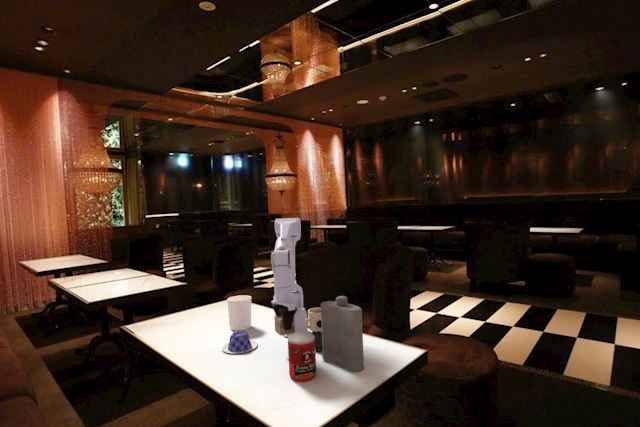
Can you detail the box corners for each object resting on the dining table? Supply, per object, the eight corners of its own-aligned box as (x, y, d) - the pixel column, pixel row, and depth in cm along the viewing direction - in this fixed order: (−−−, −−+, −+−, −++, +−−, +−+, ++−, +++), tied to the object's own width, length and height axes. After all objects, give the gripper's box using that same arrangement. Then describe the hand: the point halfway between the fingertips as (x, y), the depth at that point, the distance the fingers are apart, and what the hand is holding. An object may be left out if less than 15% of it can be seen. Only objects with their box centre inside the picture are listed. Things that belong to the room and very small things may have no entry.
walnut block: (289, 328, 122) (288, 313, 122) (294, 332, 118) (294, 317, 118) (275, 331, 120) (274, 316, 120) (280, 335, 115) (279, 319, 115)
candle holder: (240, 332, 141) (239, 302, 140) (223, 329, 146) (221, 299, 146) (257, 325, 149) (256, 296, 149) (240, 322, 154) (239, 294, 154)
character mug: (313, 356, 115) (311, 315, 115) (300, 350, 121) (298, 311, 120) (339, 347, 122) (337, 308, 122) (325, 341, 127) (324, 304, 127)
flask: (369, 366, 106) (366, 298, 106) (356, 373, 102) (353, 303, 101) (332, 353, 117) (330, 291, 116) (319, 359, 113) (317, 295, 112)
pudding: (214, 351, 124) (214, 335, 124) (241, 340, 133) (240, 325, 133) (238, 358, 117) (237, 342, 117) (264, 346, 126) (264, 331, 126)
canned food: (294, 384, 97) (293, 344, 97) (285, 373, 104) (283, 335, 104) (321, 378, 100) (319, 338, 100) (310, 367, 107) (308, 330, 107)
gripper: (264, 284, 123) (266, 323, 123) (279, 291, 110) (281, 336, 110) (283, 281, 126) (285, 320, 127) (300, 288, 114) (302, 331, 114)
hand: (284, 327), depth 119 cm, fingers closed on walnut block, 5 cm apart
